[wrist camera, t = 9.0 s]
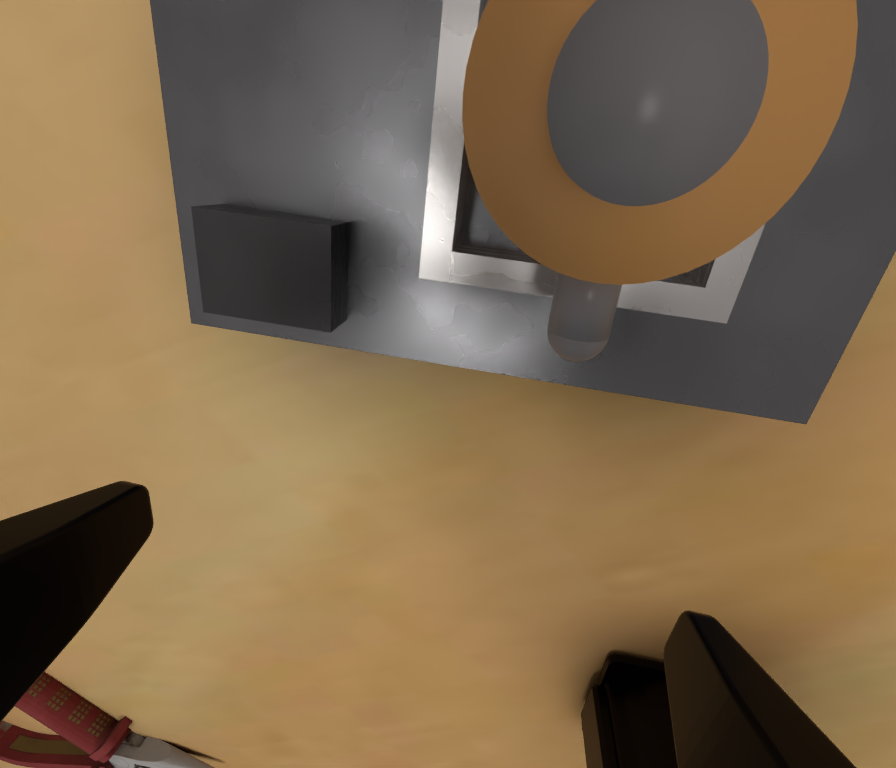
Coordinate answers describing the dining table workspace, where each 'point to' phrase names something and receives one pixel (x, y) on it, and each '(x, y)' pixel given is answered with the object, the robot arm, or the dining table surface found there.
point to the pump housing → (645, 133)
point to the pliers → (81, 736)
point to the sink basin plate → (483, 212)
